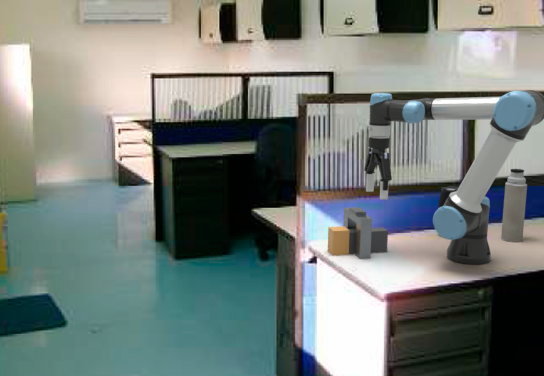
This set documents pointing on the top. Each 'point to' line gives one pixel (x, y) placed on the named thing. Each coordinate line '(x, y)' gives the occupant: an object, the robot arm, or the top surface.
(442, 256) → the top surface
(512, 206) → the thermos bottle
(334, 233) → the grey and orange block
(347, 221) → the housing
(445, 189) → the portable speaker
